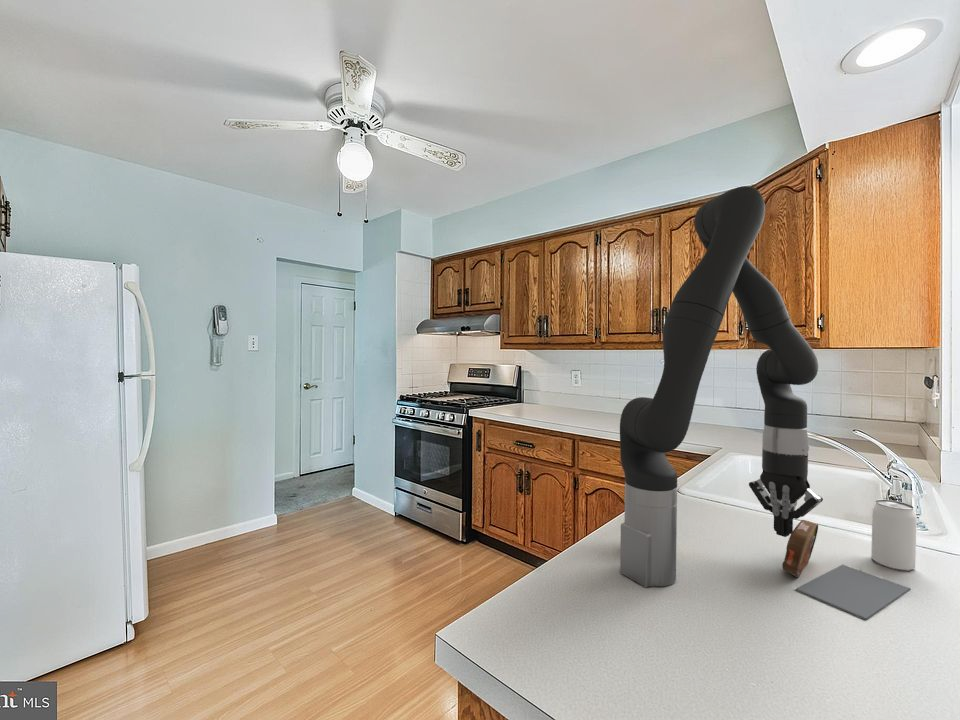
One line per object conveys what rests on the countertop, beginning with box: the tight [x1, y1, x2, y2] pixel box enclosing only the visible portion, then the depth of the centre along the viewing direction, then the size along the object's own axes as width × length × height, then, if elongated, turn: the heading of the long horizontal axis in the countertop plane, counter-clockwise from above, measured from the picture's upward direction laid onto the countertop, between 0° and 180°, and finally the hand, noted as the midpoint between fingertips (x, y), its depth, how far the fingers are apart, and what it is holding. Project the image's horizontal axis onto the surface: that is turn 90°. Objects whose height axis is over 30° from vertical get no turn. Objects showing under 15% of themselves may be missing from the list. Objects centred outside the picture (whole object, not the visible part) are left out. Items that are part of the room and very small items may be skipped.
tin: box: [781, 519, 819, 578], centre depth 86 cm, size 15×3×8 cm, turn 134°
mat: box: [795, 564, 911, 621], centre depth 79 cm, size 18×10×1 cm, turn 120°
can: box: [870, 498, 918, 572], centre depth 89 cm, size 6×6×12 cm
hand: (783, 535), depth 89 cm, fingers closed
